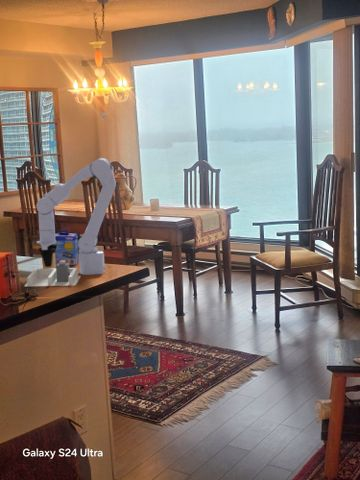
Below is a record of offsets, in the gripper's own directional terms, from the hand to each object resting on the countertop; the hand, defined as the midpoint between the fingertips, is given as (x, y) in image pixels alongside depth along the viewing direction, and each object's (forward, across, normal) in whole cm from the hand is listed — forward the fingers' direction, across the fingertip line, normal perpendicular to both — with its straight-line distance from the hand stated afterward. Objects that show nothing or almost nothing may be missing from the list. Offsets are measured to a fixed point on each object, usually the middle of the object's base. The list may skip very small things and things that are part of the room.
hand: (49, 265), depth 240 cm
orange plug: (+2, 0, 0) cm, 2 cm away
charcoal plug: (+3, +12, +7) cm, 14 cm away
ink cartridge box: (+4, -20, +3) cm, 21 cm away
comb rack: (+4, +12, +3) cm, 13 cm away
